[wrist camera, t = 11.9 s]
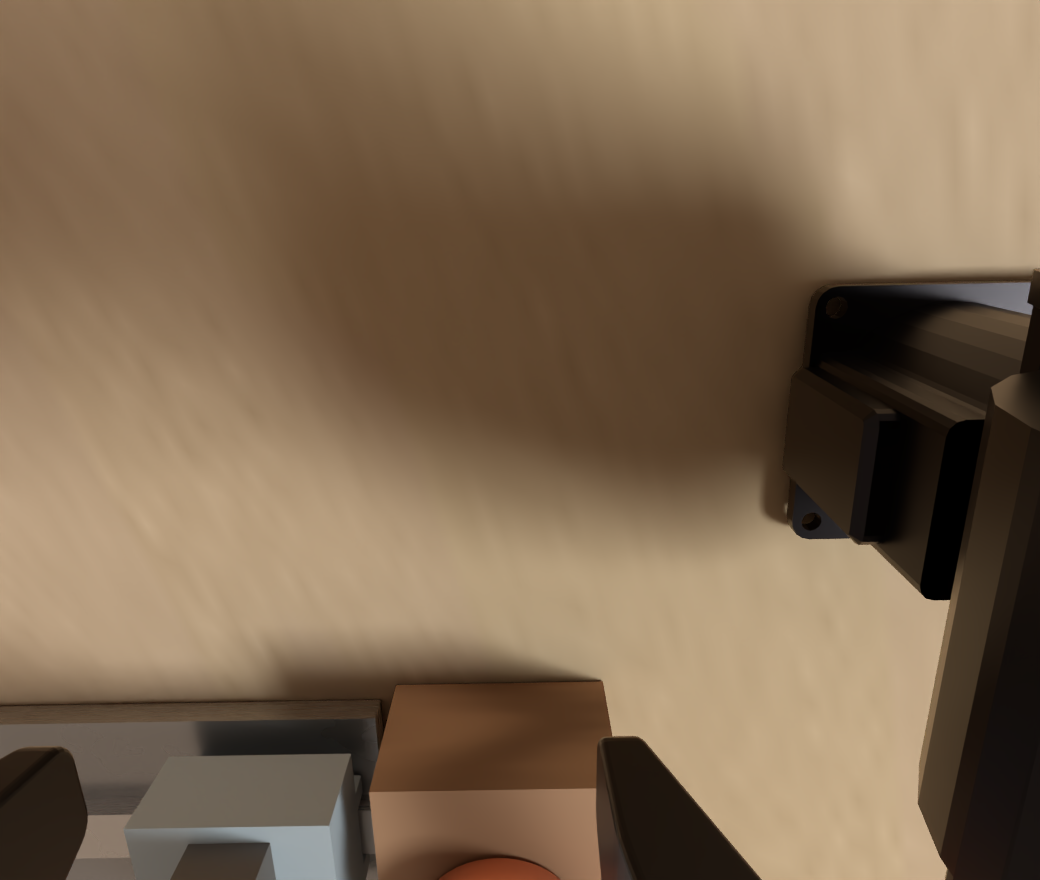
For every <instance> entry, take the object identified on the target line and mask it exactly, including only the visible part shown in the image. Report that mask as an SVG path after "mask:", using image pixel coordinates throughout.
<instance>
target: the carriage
mask: <svg viewBox="0 0 1040 880" xmlns="http://www.w3.org/2000/svg"><path fill="white" fill-rule="evenodd" d="M362 792H363V790H362V781H361V775H353V767H352V758H351V754H300V755H240V756H181V757H168V759H167V760H166V762H165V764H164V765H163V767H162V768H161V770H160V772H159V773H158V775H157V776H156V778H155V780H154V781H153V783H152V784H151V786H150V788H149V789H148V791H147V792H146V794H145V795H144V797H143V799H142V800H141V802H140V803H139V805H138V807H137V808H136V810H135V811H134V813H133V815H132V816H131V818H130V819H129V821H128V822H127V824H126V826H125V827H124V829H123V830H124V834H125V838H126V842H127V846H128V850H129V854H130V858H131V862H132V866H133V870H134V874H135V878H136V880H366V877H367V872H368V868H369V863H370V854H362V845H361V836H360V828H359V819H358V808H359V804H360V800H361V796H362Z"/></svg>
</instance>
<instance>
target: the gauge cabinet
mask: <svg viewBox="0 0 1040 880" xmlns="http://www.w3.org/2000/svg"><path fill="white" fill-rule="evenodd" d="M602 737H612V732H611V726H610V720H609V714H608V709H607V703H606V697H605V691H604V686H603V681H598V682H540V683H482V684H425V685H396V688H395V691H394V695H393V699H392V703H391V707H390V711H389V715H388V719H387V723H386V727H385V731H384V735H383V739H382V743H381V747H380V751H379V755H378V759H377V763H376V767H375V770H374V774H373V778H372V782H371V786H370V790H369V797H370V806H371V815H372V825H373V834H374V843H375V853H376V862H377V871H378V880H439V879H440V878H441V877H442V876H443V875H445V874H446V873H448V872H449V871H451V870H453V869H455V868H456V867H459V866H461V865H464V864H466V863H469V862H473V861H477V860H483V859H491V858H509V859H516V860H521V861H525V862H529V863H532V864H535V865H538V866H540V867H542V868H544V869H546V870H548V871H549V872H551V873H552V874H554V875H555V876H557V877H558V878H559V879H560V880H601V869H600V858H599V847H598V836H597V822H596V775H597V745H598V742H599V740H600V739H601V738H602Z"/></svg>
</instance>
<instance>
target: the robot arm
mask: <svg viewBox="0 0 1040 880" xmlns="http://www.w3.org/2000/svg"><path fill="white" fill-rule="evenodd" d="M835 297H838V298H839V299H840V304H841V306H840V308H839V311H838V312H837V313H836V314H834V315H831V316H828V315H827V313H826V306H827V303H828V302H829V301H830V300H831V299H832V298H835ZM783 470H784V471H785V472H786V473H787V474H788V475H789V476H790V477H791V480H790V490H789V499H788V509H787V522H788V524H789V525H790V527H791V528H792V529H793V531H794V532H795V533H796V534H797V535H799V536H800V537H802V538H806V539H840V538H851V539H852V540H853V541H854V542H855V543H856V544H858V545H868V544H871V545H872V546H873V547H874V548H875V549H876V550H877V551H878V552H879V553H880V554H881V555H882V556H883V557H884V558H885V559H886V560H887V561H888V562H889V563H890V564H891V565H892V566H893V567H894V568H895V569H896V570H897V571H898V572H899V573H900V574H901V575H903V576H904V577H905V578H906V579H907V580H908V581H909V582H910V583H911V584H912V585H913V586H914V587H915V588H916V589H917V590H918V591H919V592H920V593H921V594H922V595H923V596H924V597H925V598H926V599H931V600H950V605H949V610H948V615H947V620H946V626H945V631H944V636H943V641H942V647H941V652H940V657H939V662H938V668H937V673H936V678H935V683H934V689H933V694H932V699H931V704H930V709H929V715H928V720H927V725H926V730H925V736H924V741H923V746H922V751H921V757H920V762H919V786H918V805H919V807H920V810H921V812H922V815H923V817H924V820H925V822H926V824H927V827H928V829H929V832H930V834H931V836H932V839H933V841H934V844H935V846H936V849H937V851H938V853H939V856H940V858H941V859H942V861H943V862H944V864H945V865H946V867H947V871H946V876H945V880H1040V269H1034V270H1033V275H1032V280H1022V281H971V282H921V283H870V284H831V285H827V286H823V287H822V288H820V289H819V290H817V291H816V292H815V294H814V295H813V296H812V298H811V301H810V304H809V311H808V320H807V329H806V339H805V348H804V358H803V367H802V368H800V369H799V370H798V371H797V372H796V373H795V374H794V375H793V376H792V379H791V389H790V399H789V408H788V418H787V428H786V438H785V448H784V457H783ZM812 512H813V513H815V518H814V520H813V521H811V522H810V523H807V524H802V519H803V517H804V516H805V515H806V514H808V513H812ZM596 822H597V836H598V847H599V858H600V869H601V880H761V878H760V877H759V876H758V875H757V874H756V872H755V871H754V870H753V869H752V868H751V867H750V865H749V864H748V863H747V862H746V861H745V859H744V858H743V857H742V856H741V855H740V854H739V852H738V851H737V850H736V849H735V848H734V846H733V845H732V844H731V843H730V842H729V841H728V839H727V838H726V837H725V836H724V835H723V833H722V832H721V831H720V830H719V829H718V828H717V826H716V825H715V824H714V823H713V822H712V820H711V819H710V818H709V817H708V816H707V815H706V813H705V812H704V811H703V810H702V809H701V807H700V806H699V805H698V804H697V803H696V802H695V800H694V799H693V798H692V797H691V796H690V794H689V793H688V792H687V791H686V790H685V789H684V787H683V786H682V785H681V784H680V783H679V781H678V780H677V779H676V778H675V777H674V776H673V774H672V773H671V772H670V771H669V770H668V768H667V767H666V766H665V765H664V764H663V763H662V761H661V760H660V759H659V758H658V757H657V755H656V754H655V753H654V752H653V751H652V750H651V748H650V747H649V746H648V745H647V744H646V742H645V741H644V740H643V739H641V738H639V737H636V736H614V737H602V738H601V739H600V740H599V742H598V745H597V775H596ZM87 823H88V812H87V806H86V803H85V799H84V795H83V791H82V788H81V784H80V780H79V776H78V772H77V769H76V765H75V761H74V758H73V755H72V753H71V752H70V751H69V750H68V749H67V748H64V747H61V746H29V747H23V748H20V749H17V750H15V751H13V752H11V753H10V754H8V755H6V756H4V757H3V758H1V759H0V880H66V878H67V876H68V874H69V872H70V869H71V867H72V865H73V862H74V860H75V858H76V856H77V853H78V851H79V849H80V847H81V844H82V842H83V839H84V837H85V833H86V829H87Z"/></svg>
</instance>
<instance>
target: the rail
mask: <svg viewBox="0 0 1040 880" xmlns="http://www.w3.org/2000/svg"><path fill="white" fill-rule="evenodd" d="M383 735H384V733H383V722H382V712H381V701H380V700H332V701H274V702H216V703H158V704H99V705H41V706H0V759H1V758H3V757H4V756H6V755H8V754H10V753H11V752H13V751H15V750H17V749H20V748H23V747H29V746H61V747H64V748H67V749H68V750H69V751H70V752H71V753H72V755H73V758H74V761H75V765H76V769H77V772H78V776H79V780H80V784H81V788H82V791H83V795H84V799H85V803H86V806H87V812H88V823H87V829H86V833H85V837H84V839H83V842H82V844H81V847H80V849H79V851H78V853H77V856H76V858H75V860H74V862H73V865H72V867H71V869H70V872H69V874H68V876H67V878H66V880H136V878H135V874H134V870H133V866H132V862H131V858H130V854H129V850H128V846H127V842H126V838H125V834H124V830H123V829H124V827H125V826H126V824H127V822H128V821H129V819H130V818H131V816H132V815H133V813H134V811H135V810H136V808H137V807H138V805H139V803H140V802H141V800H142V799H143V797H144V795H145V794H146V792H147V791H148V789H149V788H150V786H151V784H152V783H153V781H154V780H155V778H156V776H157V775H158V773H159V772H160V770H161V768H162V767H163V765H164V764H165V762H166V760H167V759H168V757H181V756H240V755H300V754H351V758H352V767H353V775H361V781H362V790H363V792H362V796H361V800H360V804H359V808H358V819H359V828H360V836H361V845H362V854H370V863H369V868H368V872H367V877H366V880H378V871H377V862H376V853H375V843H374V834H373V825H372V815H371V806H370V797H369V790H370V786H371V782H372V778H373V774H374V770H375V767H376V763H377V759H378V755H379V751H380V747H381V743H382V739H383Z"/></svg>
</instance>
